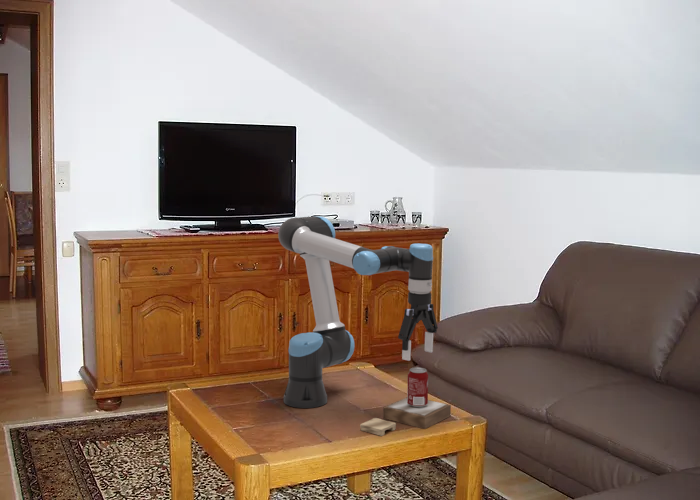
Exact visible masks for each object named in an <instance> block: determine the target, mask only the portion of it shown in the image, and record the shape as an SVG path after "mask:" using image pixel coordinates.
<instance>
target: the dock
mask: <svg viewBox="0 0 700 500" xmlns="http://www.w3.org/2000/svg"><path fill="white" fill-rule="evenodd" d="M451 407H452V406H451V404H447V403H443V402H439V401H434V400H430V399H428V404H427V405H426V406H424V407H421V408H416V407H412V406H410V405H408V404H407V397H404V398H401V399H399V400H397V401H395V402H393V403H390V404H387V405H386V406H384V407H383V408H382V409H383V413H382V415H383V416H382V417H383V418H382V419H383V420H387V421H391V422H395V423H396V422H397V423H401V424H404V425H408V426H412V427H415V428H421V429H424V430H426V429H428V428H430V427H432V426H433V425H436V424H437V423H439V422H441V421H443V420H445V419H448V418H450V417H451V414H452V413H451V411H452V410H451Z"/></svg>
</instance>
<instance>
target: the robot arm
mask: <svg viewBox="0 0 700 500" xmlns="http://www.w3.org/2000/svg"><path fill="white" fill-rule="evenodd" d="M277 233H278V234H277V235H278V236H277V237H278V241H279V243H280V245H281V246H282V247H283V248H284V249H285V250H288V251H290V252H293V253H296V254H299V257H301V258H303V260H304V261H305V266H306V267H305V268H306V274H307V278H308V285H309V289H310V290H309V291H310V297H311V302H312V309H313V314H314V320H315V327H314V329H313V330H312V332H311V331H310V332H302V333H298V334H296V335H294V336H292V337H291V339H289V341H288V342H289V343H288V382H287V384H286V387H285V391H284V394H283V403H284V404H285V405H287V406H289V407H293V408H298V409H311V408H318V407H321V406H324V405H326V404H327V403H328V394H327V392H326V388H325V384H324V381H323V369H326V368H328V367H333V366H335V365H340V364H342V363H344V362H347V361H349V359H351V358H352V355H353V354H354V351H355V339H354V337H353V335H352V334H351V332H349V330H346V326H345V324H344V323H343V322H341V321H340V316H339V311H338V310H339V309H338V305H337V304H338V303H337V297H336V292H335V286H334V280H333V275H332V268H331V263H330V262H333V263H336V264H339V265H342V266H345V267H348V268H351V269H354V271H355V272H356V273H357V274H358V275H360V276H372V275H376V274H380V273H382V274H383V273H387V272H392V271H399V272H406V273H408V284H407V285H408V288H407V290H408V294H407V303H408V304H410V308H405V309H404V313H403V314H404V315H403V318H402V323H401V325H400V329H399V332H398V337H397V338H398V339H399V340H401V341H402V342H401V343H402V345H401V349H402V350H401V352H402V353H401V357H402V358H401V359H402V361H403V360H405V361H411V356H412V354H411V353H412V340H410V339H411V337H412V335H413V333H414V330H415V327H416V326H417V324H419V322H420V321H422V324H423V325H424V328H425V330H426V331H425V332H424V352H427V353H433V352H434V333H435V334H436V333H437V330H438V322H437V320H436V315H435V311H434V304H433V303H432V288H433V287H432V286H433V283H432V282H433V281H432V280H433V264H434V263H433V262H434V252H433V251H434V249H433V246H432V245H431V244H428V243H412V244H410V246H409V248H403V247H397V246H392V245H389V246H386V245H385V246H382V247H381V248H380V249H369V248H368V247H363V246H360V245H358V244H354V243H352V242H348V241H344V240H341V239H338V238H336V230H335V227H334V224H333V223H332V222H331V220H330V219H328V218H327V217H324V216H319V215H317V216H316V215H313V216H302V217H291V218H287V220H285V221H283V222H282V223H281V224H280V226H279V229H278V232H277Z"/></svg>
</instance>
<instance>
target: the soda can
mask: <svg viewBox="0 0 700 500" xmlns="http://www.w3.org/2000/svg"><path fill="white" fill-rule="evenodd" d="M406 389H407V390H406V391H407V393H406V395H407V404H408V405H410V406H412V407H416V408H421V407H424V406H426V405H427V404H428V400H429V374H428V372H427V369H426V368H424V367H412V368H409V372H408V373H407V388H406Z"/></svg>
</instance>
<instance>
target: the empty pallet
mask: <svg viewBox="0 0 700 500" xmlns="http://www.w3.org/2000/svg"><path fill="white" fill-rule="evenodd" d="M359 426H360V431H362V432H366V433H369V434H374V435H376V436H380V437H383V436H385V434H386V433H385V432H386V431H387V430H389V431H392V432H394V431H395V430H396V426H397V423H396V422H395V421H391V420H387V419H383V418H382V419H381V418H378V417H373V418H371V419H370V420H369V419H368V420H366V421H365V422H362V423H360V424H359Z"/></svg>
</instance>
